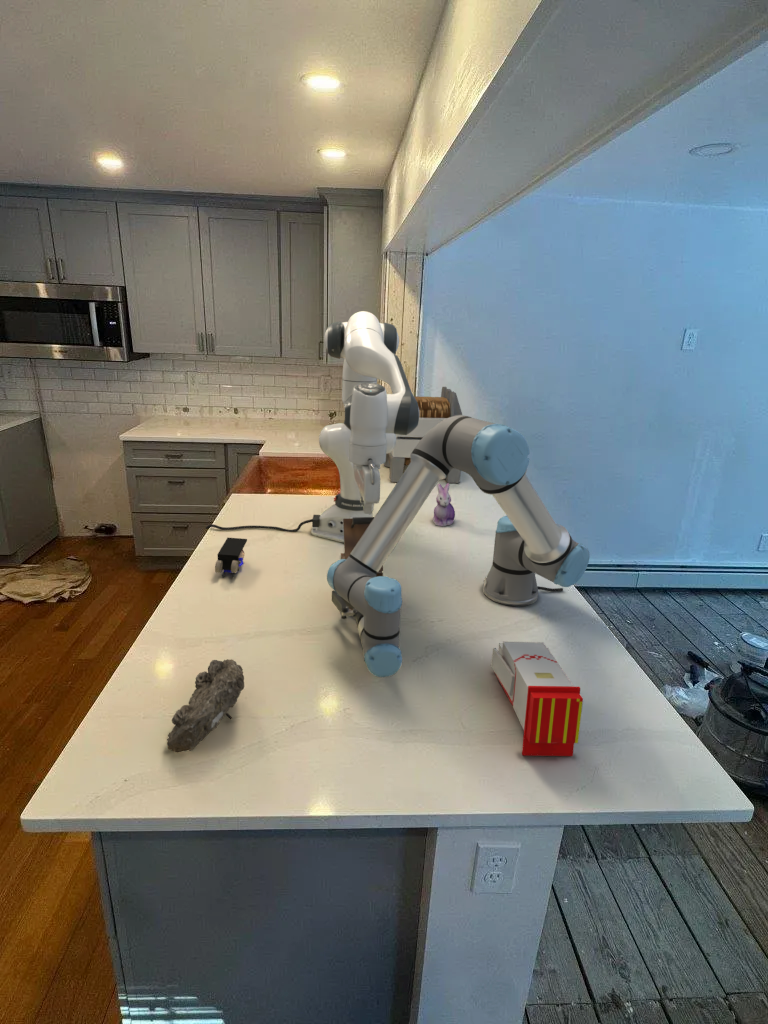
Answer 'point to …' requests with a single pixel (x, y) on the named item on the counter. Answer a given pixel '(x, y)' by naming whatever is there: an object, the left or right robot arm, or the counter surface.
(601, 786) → the counter surface
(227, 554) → the black wheeled toy vehicle
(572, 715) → the toy
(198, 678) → the fossil
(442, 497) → the figurine
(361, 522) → the lid
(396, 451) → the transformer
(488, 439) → the right robot arm
